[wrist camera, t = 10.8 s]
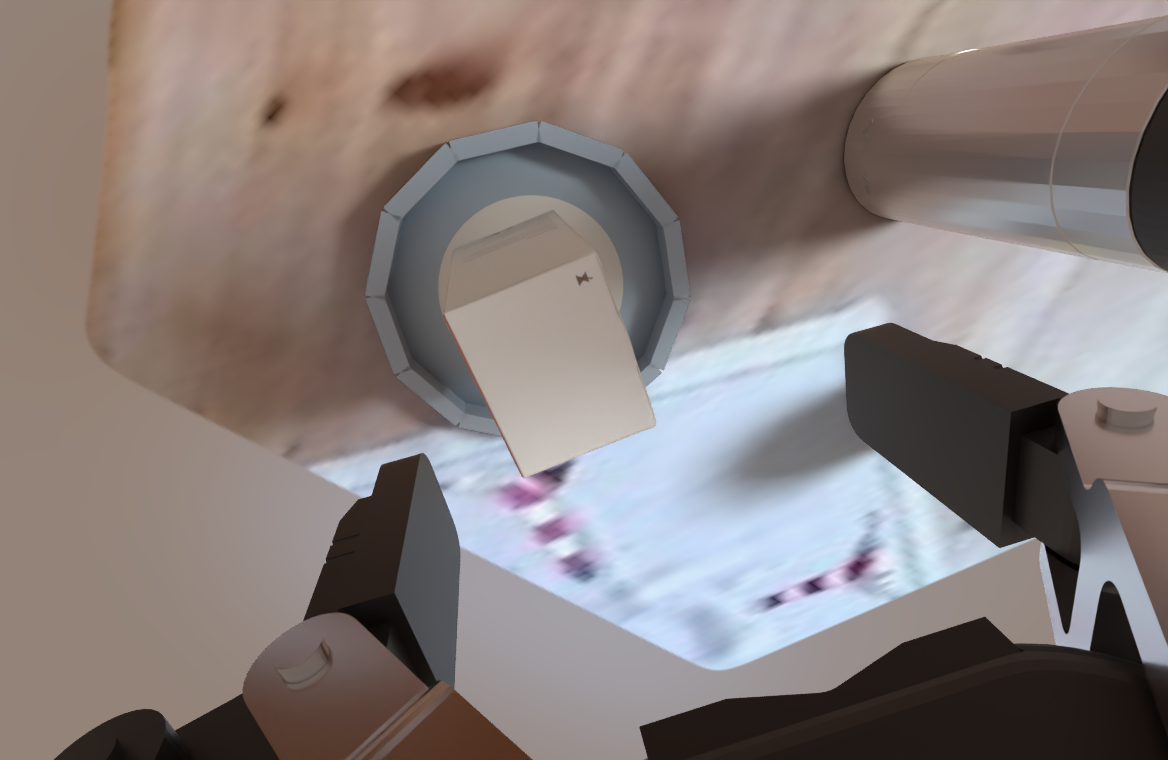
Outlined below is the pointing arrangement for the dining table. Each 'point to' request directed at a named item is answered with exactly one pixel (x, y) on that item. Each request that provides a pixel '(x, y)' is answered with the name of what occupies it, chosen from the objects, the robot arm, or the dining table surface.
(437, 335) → the grey shallow round dish
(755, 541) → the dining table surface
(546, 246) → the small box
